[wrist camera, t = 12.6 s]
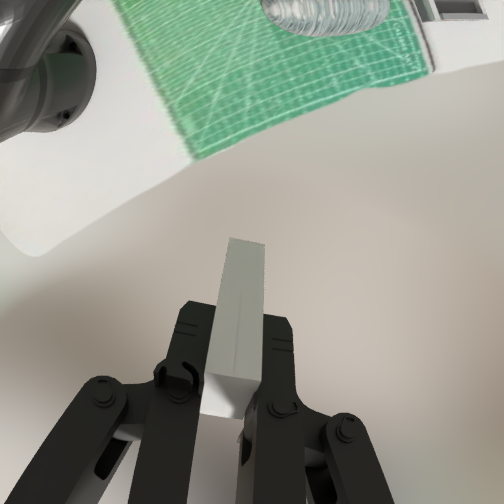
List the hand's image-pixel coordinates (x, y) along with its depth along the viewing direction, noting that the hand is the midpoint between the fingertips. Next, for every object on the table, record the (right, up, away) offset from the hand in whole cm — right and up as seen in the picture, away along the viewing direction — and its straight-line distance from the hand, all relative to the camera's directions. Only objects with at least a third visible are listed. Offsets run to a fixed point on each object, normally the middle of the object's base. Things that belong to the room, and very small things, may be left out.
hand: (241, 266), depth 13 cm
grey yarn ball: (+8, +29, +12) cm, 33 cm away
